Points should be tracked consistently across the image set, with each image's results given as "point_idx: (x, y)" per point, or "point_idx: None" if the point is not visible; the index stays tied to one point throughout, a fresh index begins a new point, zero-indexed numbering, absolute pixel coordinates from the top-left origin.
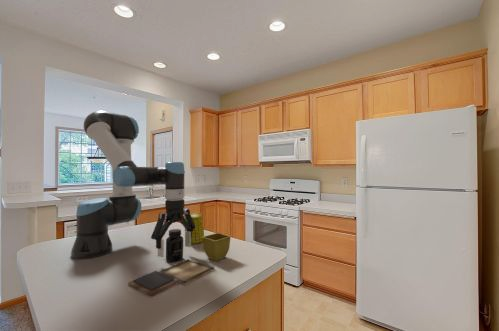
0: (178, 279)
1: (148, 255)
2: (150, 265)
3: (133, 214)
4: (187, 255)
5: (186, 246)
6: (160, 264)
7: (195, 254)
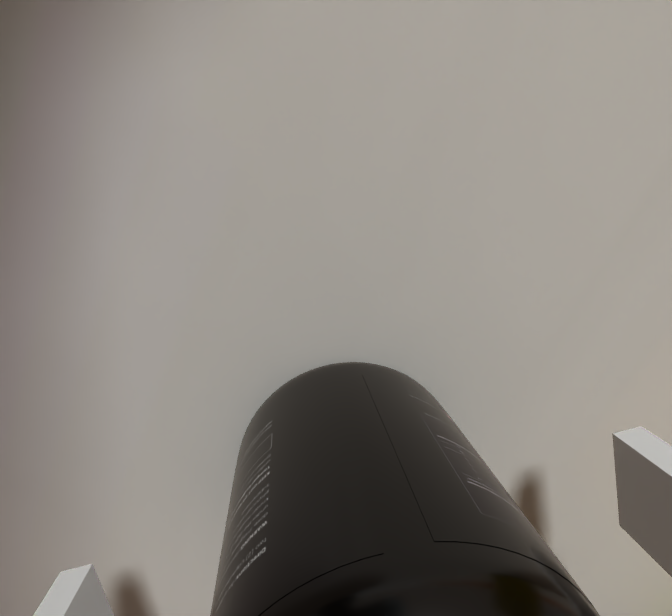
0: None
1: (114, 26)
2: (37, 437)
3: None
4: (534, 431)
5: (615, 463)
6: (152, 483)
7: None
